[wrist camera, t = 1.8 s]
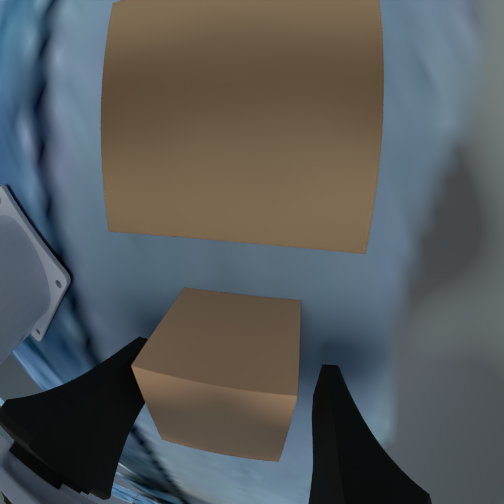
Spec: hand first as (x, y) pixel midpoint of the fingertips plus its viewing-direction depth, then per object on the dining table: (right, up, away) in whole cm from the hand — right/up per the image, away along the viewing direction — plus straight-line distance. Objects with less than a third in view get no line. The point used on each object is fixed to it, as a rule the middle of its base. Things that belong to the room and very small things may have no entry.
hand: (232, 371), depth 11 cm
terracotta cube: (0, +1, +2) cm, 2 cm away
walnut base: (+1, +10, -2) cm, 10 cm away
